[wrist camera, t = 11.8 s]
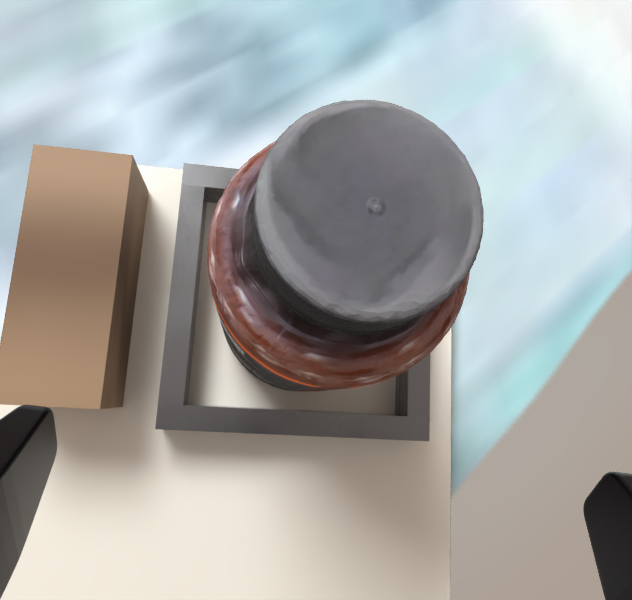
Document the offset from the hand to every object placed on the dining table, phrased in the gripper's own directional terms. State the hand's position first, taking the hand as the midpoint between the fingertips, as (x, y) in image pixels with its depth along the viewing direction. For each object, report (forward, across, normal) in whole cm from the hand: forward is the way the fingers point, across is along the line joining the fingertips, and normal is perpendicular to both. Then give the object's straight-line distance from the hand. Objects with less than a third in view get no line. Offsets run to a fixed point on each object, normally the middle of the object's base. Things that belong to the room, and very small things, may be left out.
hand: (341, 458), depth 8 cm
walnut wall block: (+11, +8, +6) cm, 14 cm away
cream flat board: (+8, +2, +8) cm, 12 cm away
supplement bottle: (+11, 0, +5) cm, 12 cm away
